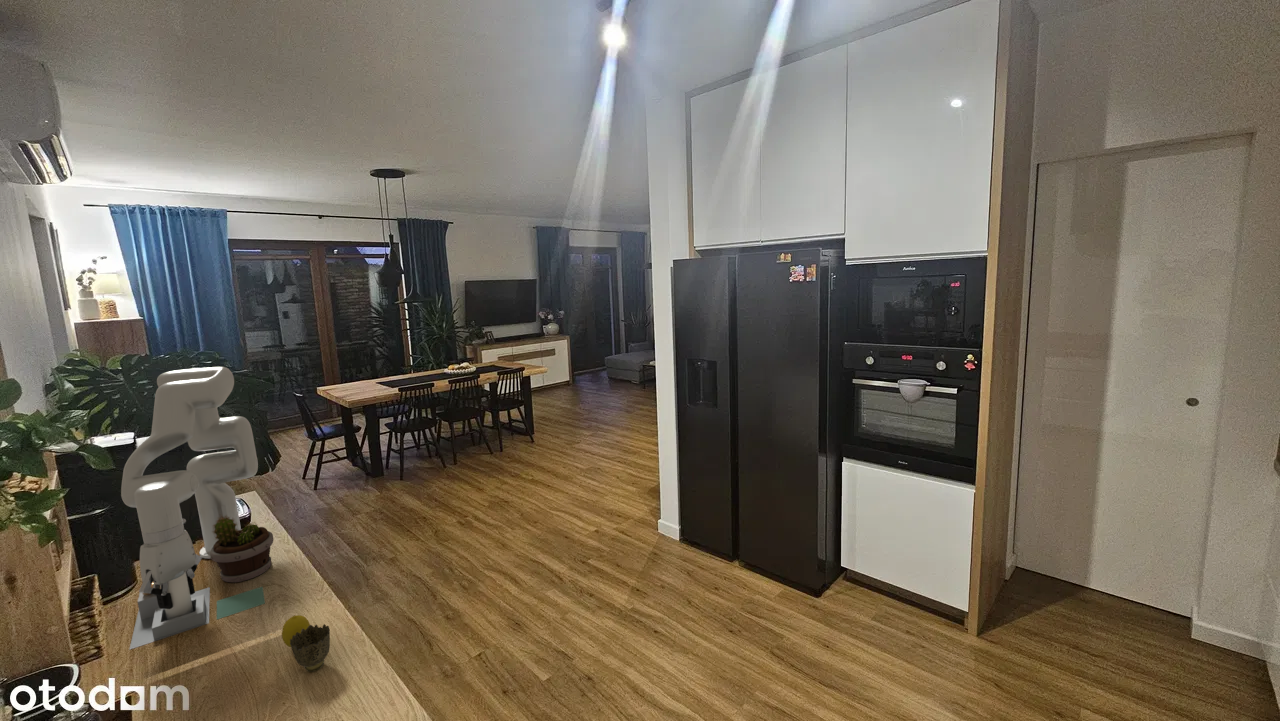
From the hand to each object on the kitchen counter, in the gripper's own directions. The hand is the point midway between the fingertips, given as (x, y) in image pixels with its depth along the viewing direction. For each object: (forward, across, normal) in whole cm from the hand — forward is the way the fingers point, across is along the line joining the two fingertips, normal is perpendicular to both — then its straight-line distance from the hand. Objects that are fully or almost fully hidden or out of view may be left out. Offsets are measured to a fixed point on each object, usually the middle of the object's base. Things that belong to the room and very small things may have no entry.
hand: (177, 600), depth 133 cm
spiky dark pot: (+7, +11, +45) cm, 46 cm away
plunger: (+5, -4, -11) cm, 12 cm away
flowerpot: (+7, -22, -2) cm, 23 cm away
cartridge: (+4, 0, 0) cm, 4 cm away
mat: (+7, -8, +9) cm, 14 cm away
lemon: (+7, +5, +36) cm, 37 cm away
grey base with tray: (+7, -2, -4) cm, 8 cm away
